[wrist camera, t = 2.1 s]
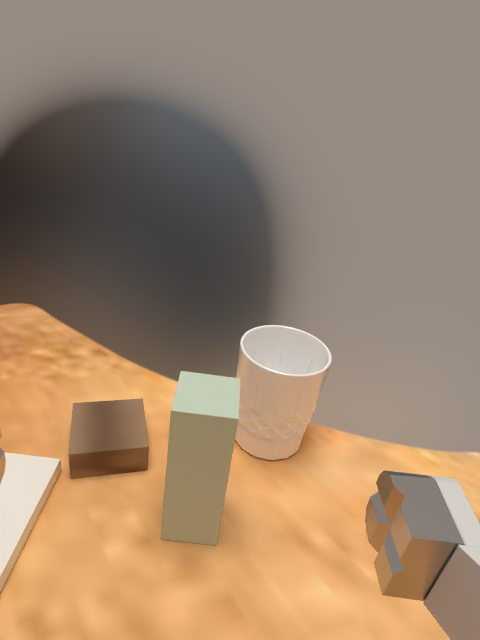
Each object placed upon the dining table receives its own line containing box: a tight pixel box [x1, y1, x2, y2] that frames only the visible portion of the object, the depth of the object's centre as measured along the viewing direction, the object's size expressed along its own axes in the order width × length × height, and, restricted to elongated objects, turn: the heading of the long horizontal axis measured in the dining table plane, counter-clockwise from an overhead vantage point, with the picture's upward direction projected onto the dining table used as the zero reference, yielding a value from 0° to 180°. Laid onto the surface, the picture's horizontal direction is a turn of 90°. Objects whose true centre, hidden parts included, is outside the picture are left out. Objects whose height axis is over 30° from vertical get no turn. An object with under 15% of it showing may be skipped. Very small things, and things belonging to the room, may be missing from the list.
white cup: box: [235, 325, 332, 460], centre depth 40 cm, size 8×8×10 cm
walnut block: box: [69, 399, 149, 479], centre depth 38 cm, size 6×6×3 cm
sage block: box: [161, 371, 240, 546], centre depth 30 cm, size 4×4×12 cm
